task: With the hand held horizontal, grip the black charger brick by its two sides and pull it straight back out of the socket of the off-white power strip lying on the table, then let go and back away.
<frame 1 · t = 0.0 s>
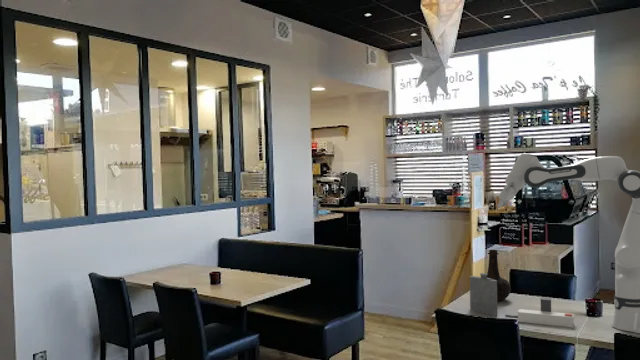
hand: (501, 206, 267), 54 cm above the table, tool tilted 30°, fingers open, 8 cm apart
charger: (545, 309, 253), point 5 cm above the table, slide at 0.0 cm
power strip: (545, 322, 249), on the table
glass bottle: (494, 299, 296), on the table
hip flask: (484, 312, 269), on the table
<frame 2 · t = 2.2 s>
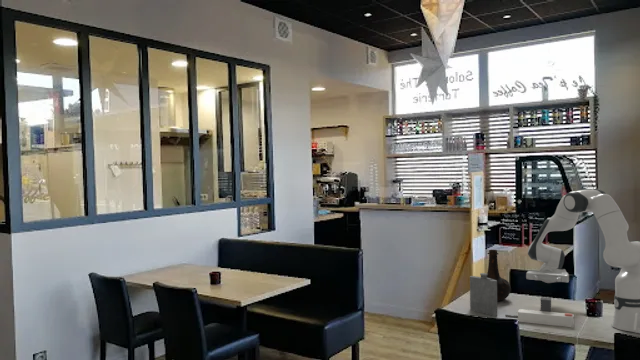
hand: (546, 279, 265), 17 cm above the table, tool horizontal, fingers open, 8 cm apart
nothing on the table moved.
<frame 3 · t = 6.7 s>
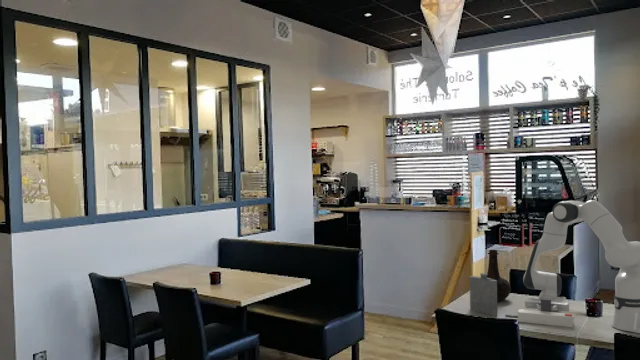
hand: (545, 308, 253), 6 cm above the table, tool horizontal, fingers closed on charger, 4 cm apart
charger: (545, 309, 253), point 5 cm above the table, slide at 0.0 cm, touching gripper
everything else where it was.
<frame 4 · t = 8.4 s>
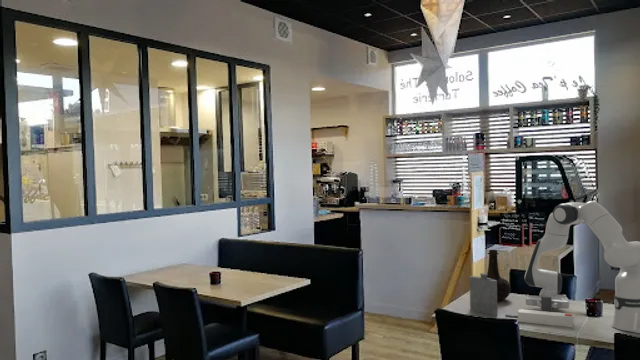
hand: (546, 305, 258), 6 cm above the table, tool horizontal, fingers closed on charger, 4 cm apart
charger: (546, 306, 258), point 5 cm above the table, slide at 5.6 cm, touching gripper
everything else where it was.
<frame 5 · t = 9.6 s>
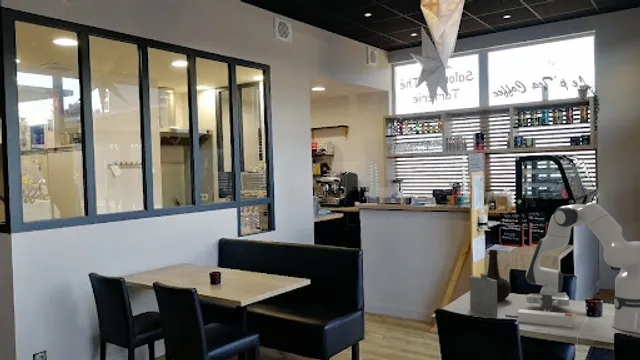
hand: (547, 303, 263), 6 cm above the table, tool horizontal, fingers closed on charger, 4 cm apart
charger: (547, 304, 263), point 5 cm above the table, slide at 10.8 cm, touching gripper
everything else where it was.
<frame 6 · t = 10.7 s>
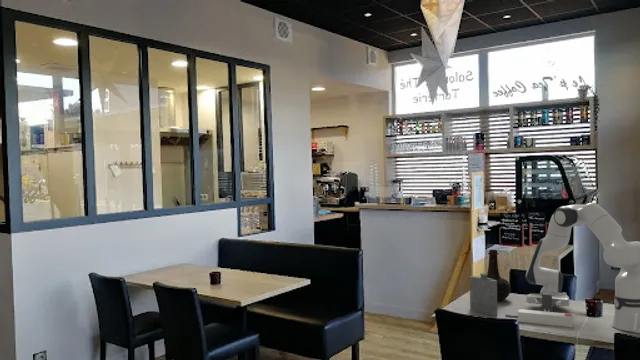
hand: (547, 303, 263), 6 cm above the table, tool horizontal, fingers open, 8 cm apart
charger: (547, 304, 263), point 5 cm above the table, slide at 10.9 cm
everything else where it was.
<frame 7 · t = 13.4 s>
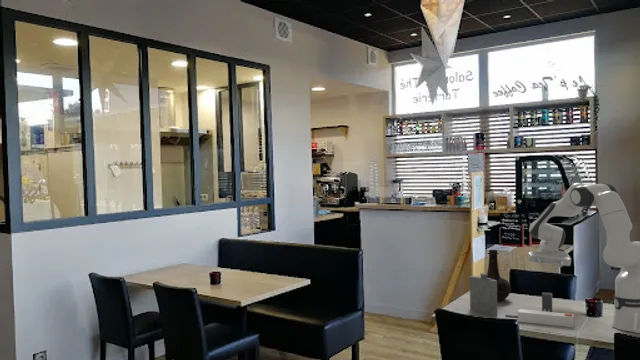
hand: (550, 264, 272), 23 cm above the table, tool horizontal, fingers open, 8 cm apart
nothing on the table moved.
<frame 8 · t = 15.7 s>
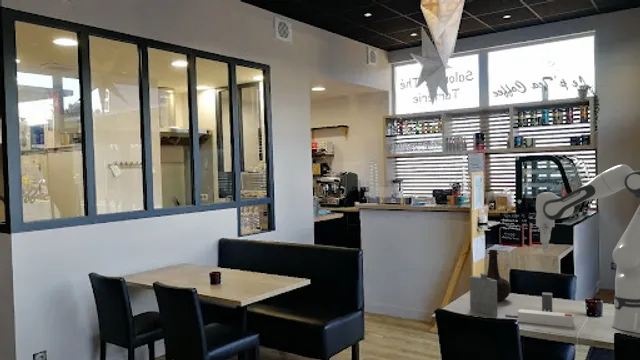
hand: (545, 249, 272), 31 cm above the table, tool pointing down, fingers open, 8 cm apart
nothing on the table moved.
at the end: charger slide at 10.9 cm; the gripper is holding nothing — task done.
